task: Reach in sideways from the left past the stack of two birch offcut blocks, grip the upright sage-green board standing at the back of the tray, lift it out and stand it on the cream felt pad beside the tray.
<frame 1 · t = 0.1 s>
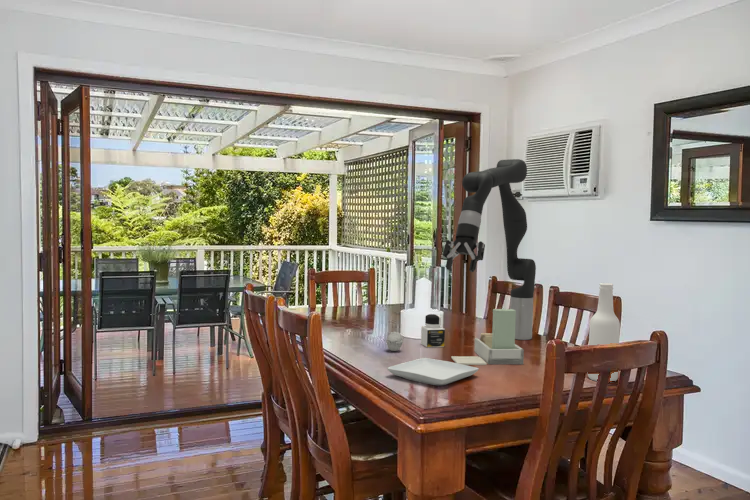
hand: (459, 270, 205), 31 cm above the table, tool tilted 20°, fingers open, 8 cm apart
offcut upper: (493, 341, 222), point 4 cm above the table, touching offcut lower
frog figurine: (394, 351, 223), on the table
tray: (497, 357, 216), on the table
board: (502, 355, 210), point 2 cm above the table, touching tray
medicine bottle: (432, 346, 234), on the table
alcohol: (602, 379, 189), on the table
pad: (468, 361, 209), on the table
salad plate: (432, 378, 188), on the table
offcut lower: (493, 348, 222), point 2 cm above the table, touching offcut upper, tray
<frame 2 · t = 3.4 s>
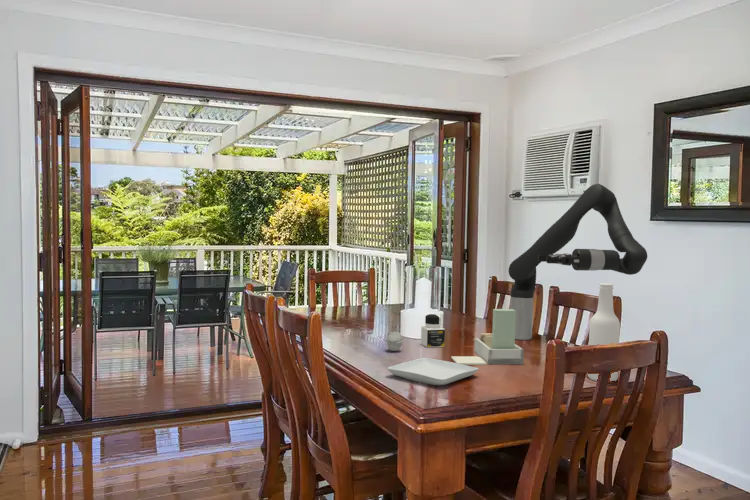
hand: (542, 259, 209), 36 cm above the table, tool horizontal, fingers open, 8 cm apart
nothing on the table moved.
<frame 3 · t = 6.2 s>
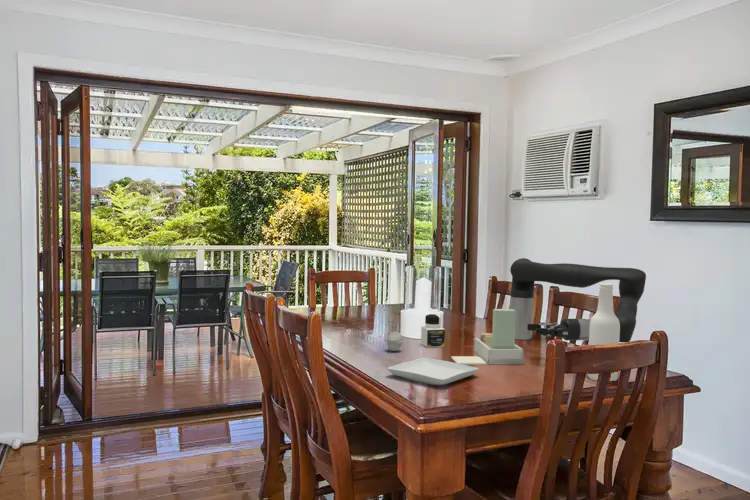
hand: (531, 329, 210), 11 cm above the table, tool horizontal, fingers open, 8 cm apart
nothing on the table moved.
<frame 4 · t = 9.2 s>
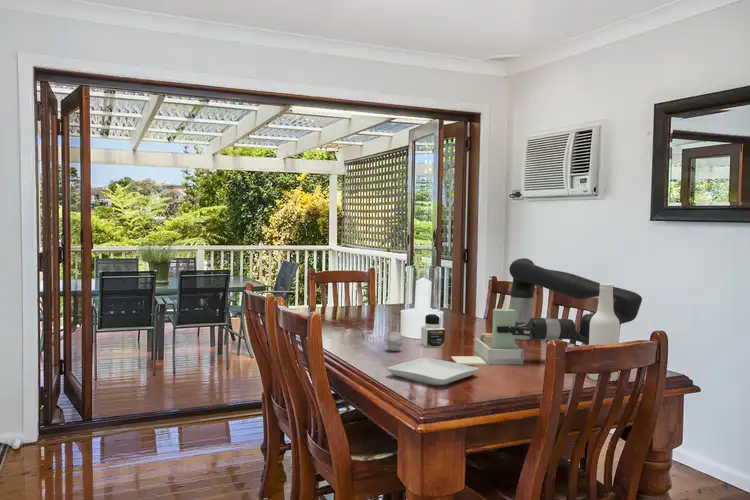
hand: (495, 328, 209), 11 cm above the table, tool horizontal, fingers closed on board, 3 cm apart
board: (502, 355, 210), point 2 cm above the table, touching gripper, tray
everything else where it was.
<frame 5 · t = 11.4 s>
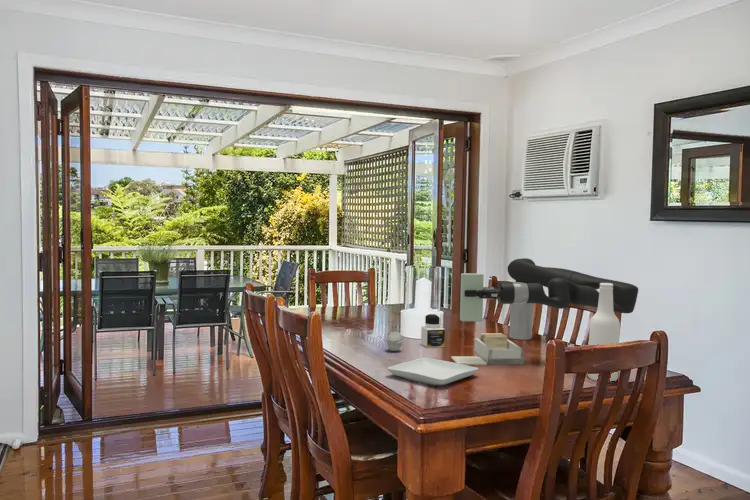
hand: (463, 292, 207), 24 cm above the table, tool horizontal, fingers closed on board, 3 cm apart
board: (471, 320, 208), point 14 cm above the table, touching gripper
everything else where it was.
when the fingers open (12 cm above the table, at t = 14.0 s): board drops 2 cm, resting on pad.
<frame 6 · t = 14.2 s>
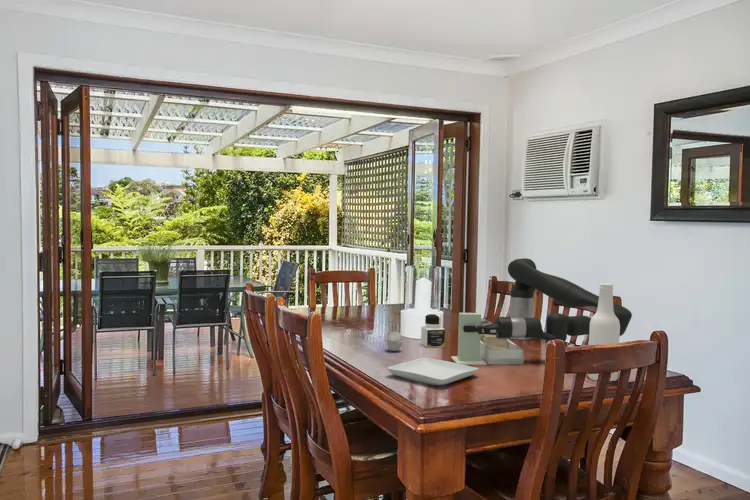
hand: (462, 327, 208), 12 cm above the table, tool horizontal, fingers open, 5 cm apart
board: (468, 359, 209), point 1 cm above the table, touching pad
everything else where it was.
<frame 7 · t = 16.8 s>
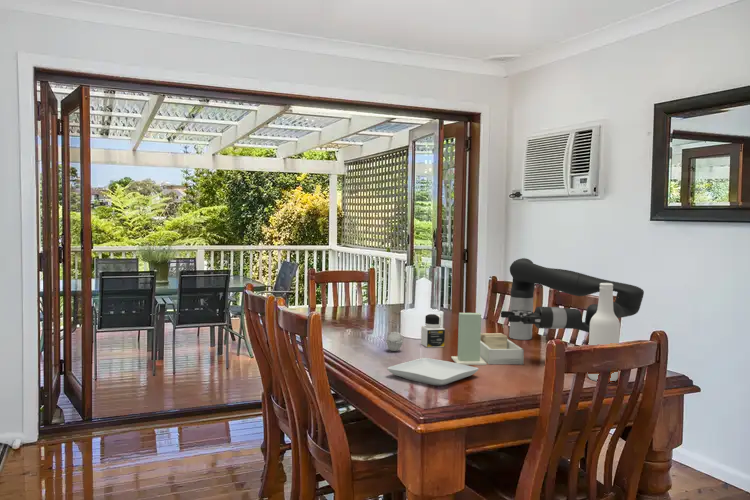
hand: (504, 316, 209), 16 cm above the table, tool horizontal, fingers open, 8 cm apart
nothing on the table moved.
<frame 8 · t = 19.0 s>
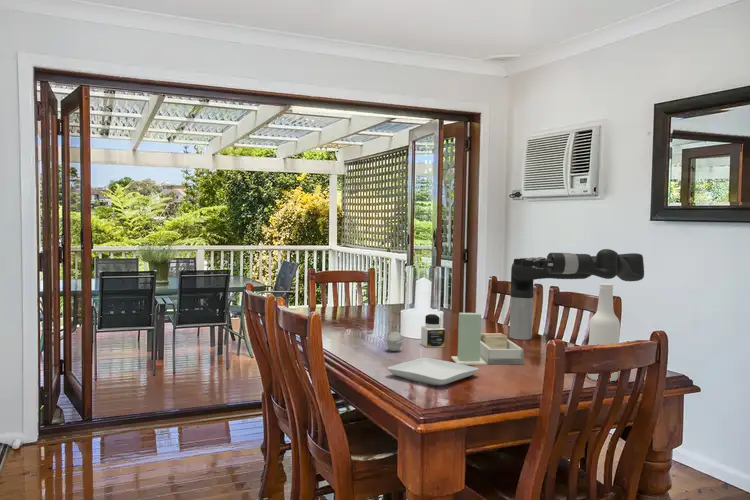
hand: (517, 262, 215), 34 cm above the table, tool horizontal, fingers open, 8 cm apart
nothing on the table moved.
at the end: board inside the target area on the pad (0.0 cm from its centre), point 0.6 cm above the pad's base; board tilted 0°; the gripper is holding nothing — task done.
